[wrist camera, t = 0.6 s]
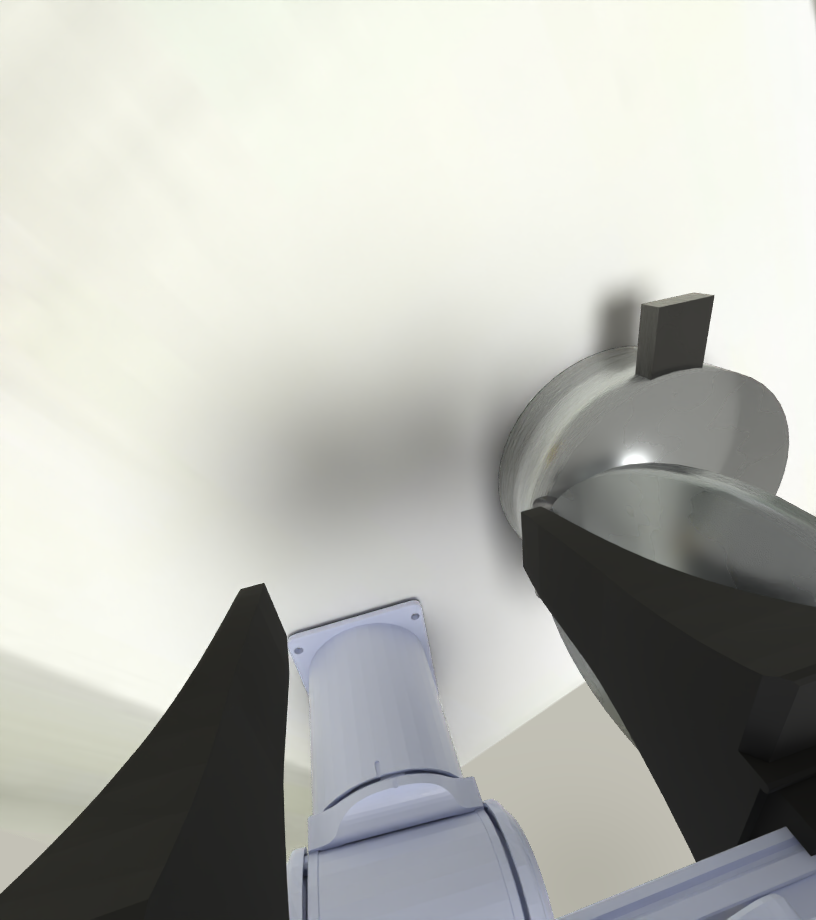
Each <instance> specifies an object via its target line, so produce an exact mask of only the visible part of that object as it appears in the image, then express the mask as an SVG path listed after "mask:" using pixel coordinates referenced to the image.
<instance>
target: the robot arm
mask: <svg viewBox="0 0 816 920" xmlns="http://www.w3.org/2000/svg"><path fill="white" fill-rule="evenodd" d="M521 527H522V547H523V567H524V569H525V571H526V573H527V575H528V577H529V578H530V580H531V582H532V584H533V586H534V588H535V589H536V591H537V593H538V595H539V597H540V598H541V600H542V601H543V603H544V604H545V605H546V607H547V608H548V610H549V611H550V612H551V614H552V615H553V617H554V618H555V619H556V621H557V622H558V624H559V625H560V626H561V628H562V629H563V631H564V632H565V633H566V635H567V636H568V637H569V639H570V640H571V642H572V643H573V644H574V646H575V647H576V648H577V650H578V651H579V653H580V654H581V655H582V657H583V658H584V660H585V661H586V662H587V664H588V665H589V667H590V668H591V670H592V671H593V673H594V674H595V676H596V677H597V679H598V680H599V682H600V684H601V685H602V687H603V689H604V691H605V692H606V694H607V696H608V697H609V699H610V701H611V702H612V704H613V706H614V708H615V709H616V711H617V713H618V714H619V716H620V718H621V720H622V721H623V723H624V725H625V727H626V729H627V730H628V732H629V734H630V736H631V738H632V739H633V741H634V743H635V745H636V746H637V748H638V750H639V752H640V754H641V756H642V757H643V759H644V761H645V763H646V765H647V767H648V768H649V771H650V772H651V774H652V776H653V778H654V780H655V782H656V784H657V785H658V787H659V789H660V791H661V793H662V795H663V797H664V798H665V801H666V802H667V805H668V807H669V808H670V811H671V813H672V815H673V816H674V819H675V821H676V823H677V825H678V827H679V828H680V831H681V832H682V834H683V836H684V838H685V840H686V842H687V844H688V846H689V848H690V850H691V853H692V854H693V857H694V859H695V861H696V863H694V864H691V865H689V866H686V867H684V868H681V869H679V870H676V871H674V872H671V873H669V874H666V875H664V876H661V877H659V878H656V879H654V880H651V881H649V882H646V883H644V884H642V885H639V886H637V887H634V888H632V889H629V890H627V891H624V892H621V893H619V894H616V895H614V896H611V897H609V898H606V899H604V900H601V901H599V902H597V903H594V904H591V905H589V906H587V907H584V908H582V909H579V910H577V911H574V912H572V913H569V914H567V915H564V916H562V917H559V918H557V919H554V916H553V912H552V908H551V904H550V901H549V897H548V894H547V890H546V887H545V884H544V881H543V878H542V875H541V872H540V869H539V866H538V864H537V861H536V858H535V856H534V854H533V851H532V849H531V846H530V844H529V842H528V840H527V838H526V836H525V834H524V832H523V830H522V829H521V827H520V825H519V823H518V822H517V820H516V819H515V818H514V817H513V816H512V815H511V814H510V813H509V812H508V811H507V810H505V809H504V807H503V806H502V805H501V804H500V803H499V802H498V801H496V800H494V799H489V800H485V801H482V799H481V797H480V793H479V790H478V787H477V784H476V781H475V778H474V777H466V778H463V775H462V771H461V768H460V765H459V762H458V758H457V755H456V752H455V749H454V746H453V742H452V739H451V736H450V733H449V729H448V726H447V723H446V720H445V717H444V713H443V710H442V707H441V704H440V700H439V693H438V688H437V683H436V678H435V673H434V668H433V662H432V657H431V652H430V647H429V642H428V637H427V632H426V627H425V622H424V616H423V611H422V607H421V604H420V602H419V601H417V600H412V601H408V602H405V603H401V604H398V605H394V606H391V607H387V608H384V609H380V610H377V611H373V612H370V613H366V614H363V615H359V616H356V617H352V618H349V619H346V620H342V621H339V622H335V623H332V624H328V625H325V626H321V627H318V628H314V629H311V630H307V631H304V632H300V633H297V634H294V635H292V636H290V637H289V638H288V645H287V636H286V633H285V631H284V628H283V626H282V624H281V621H280V619H279V617H278V614H277V612H276V610H275V607H274V605H273V602H272V600H271V598H270V595H269V593H268V591H267V588H266V586H265V584H264V583H262V584H258V585H255V586H251V587H247V588H244V589H241V590H240V591H239V593H238V594H237V596H236V598H235V600H234V602H233V603H232V605H231V607H230V609H229V611H228V613H227V614H226V616H225V618H224V620H223V622H222V623H221V625H220V627H219V629H218V631H217V632H216V634H215V636H214V638H213V639H212V641H211V643H210V644H209V646H208V648H207V649H206V651H205V653H204V654H203V656H202V658H201V660H200V661H199V663H198V664H197V666H196V668H195V669H194V671H193V672H192V674H191V675H190V677H189V678H188V680H187V681H186V683H185V685H184V686H183V688H182V689H181V691H180V692H179V694H178V695H177V697H176V698H175V700H174V701H173V703H172V704H171V705H170V707H169V708H168V710H167V711H166V713H165V714H164V715H163V717H162V718H161V719H160V721H159V722H158V723H157V725H156V726H155V727H154V729H153V730H152V731H151V733H150V734H149V735H148V736H147V738H146V739H145V740H144V742H143V743H142V744H141V745H140V747H139V748H138V749H137V750H136V751H135V753H134V754H133V755H132V756H131V757H130V758H129V760H128V761H127V762H126V763H125V764H124V766H123V767H122V768H121V769H120V770H119V771H118V773H117V774H116V775H115V776H114V777H113V778H112V780H111V781H110V782H109V783H108V784H107V786H106V787H105V788H104V789H103V790H102V791H101V792H100V794H99V795H98V796H97V797H96V798H95V799H94V800H93V801H92V802H91V803H90V804H89V806H88V807H87V808H86V809H85V810H84V811H83V812H82V813H81V814H80V815H79V816H78V817H77V818H76V820H75V821H74V822H73V823H72V824H71V825H70V826H69V827H68V828H67V829H66V830H65V831H64V832H63V833H62V834H61V835H60V836H59V837H58V838H57V839H56V840H55V841H54V842H53V843H52V844H51V845H50V846H49V847H48V848H47V849H46V850H45V851H44V852H43V853H42V854H41V855H40V856H39V857H38V858H37V859H36V860H35V861H34V862H33V863H32V864H31V865H30V866H29V867H28V868H27V869H26V870H25V871H24V872H23V873H22V874H21V875H20V876H19V877H18V878H17V879H16V880H14V881H13V882H12V883H11V884H10V885H9V886H8V887H7V888H6V889H5V890H4V891H3V892H2V893H1V894H0V920H816V607H814V606H808V605H803V604H798V603H793V602H789V601H784V600H780V599H776V598H771V597H767V596H762V595H758V594H755V593H751V592H747V591H743V590H739V589H735V588H732V587H729V586H725V585H722V584H718V583H715V582H712V581H708V580H705V579H702V578H699V577H696V576H693V575H690V574H687V573H684V572H681V571H679V570H676V569H673V568H670V567H668V566H665V565H662V564H660V563H657V562H655V561H652V560H650V559H647V558H645V557H642V556H640V555H638V554H636V553H633V552H631V551H629V550H627V549H624V548H622V547H620V546H618V545H616V544H614V543H611V542H609V541H607V540H605V539H603V538H601V537H599V536H597V535H595V534H593V533H591V532H589V531H587V530H586V529H584V528H582V527H580V526H578V525H576V524H574V523H572V522H570V521H568V520H567V519H565V518H563V517H561V516H559V515H557V514H555V513H553V512H551V511H550V510H548V509H546V508H544V507H541V506H540V507H536V508H532V509H529V510H525V511H522V512H521ZM415 613H417V614H415ZM413 614H415V615H413ZM297 648H299V649H297ZM288 649H289V651H290V653H291V656H292V658H293V660H294V663H295V665H296V668H297V670H298V672H299V675H300V677H301V679H302V682H303V684H304V687H305V689H306V691H307V694H308V696H309V708H310V743H311V778H312V812H313V815H311V816H309V818H308V853H309V855H308V853H307V849H306V847H302V848H299V849H295V850H293V851H292V852H291V854H290V857H289V861H287V863H286V847H285V822H284V790H283V779H284V753H285V737H286V721H287V706H288V688H289V660H288Z"/></svg>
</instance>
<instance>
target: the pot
mask: <svg viewBox="0 0 816 920" xmlns="http://www.w3.org/2000/svg"><path fill="white" fill-rule="evenodd" d="M713 301H714V295H708V294H701V293H690V294H686V295H681V296H676V297H672V298H667V299H662V300H658V301H653V302H649V303H644V304H642V305H641V316H640V327H639V338H638V346H626V347H620V348H614V349H610V350H607V351H603V352H600V353H597V354H595V355H592V356H590V357H588V358H585V359H583V360H581V361H579V362H578V363H576V364H574V365H573V366H571V367H569V368H568V369H566V370H565V371H563V372H562V373H561V374H559V375H558V376H557V377H555V378H554V379H553V380H552V381H551V382H549V383H548V384H547V385H546V386H545V387H544V388H543V389H542V390H541V391H540V392H539V393H538V394H537V395H536V396H535V398H534V399H533V400H532V401H531V402H530V403H529V404H528V406H527V407H526V409H525V410H524V412H523V413H522V414H521V416H520V417H519V419H518V421H517V422H516V424H515V426H514V428H513V430H512V431H511V433H510V436H509V438H508V441H507V443H506V446H505V448H504V452H503V455H502V459H501V463H500V470H499V495H500V502H501V505H502V508H503V511H504V514H505V516H506V518H507V520H508V522H509V523H510V525H511V526H512V528H513V529H514V530H515V532H516V533H517V534H518V536H519V537H520V538H521V540H522V527H521V512H522V511H525V510H529V509H532V508H533V502H534V500H535V499H537V498H539V497H542V496H552V497H556V498H559V497H560V496H561V495H562V494H563V493H564V492H565V491H567V490H568V489H570V488H571V487H573V486H574V485H576V484H578V483H580V482H582V481H584V480H586V479H588V478H590V477H592V476H594V475H596V474H599V473H601V472H603V471H606V470H608V469H610V468H614V467H618V466H623V465H627V464H636V463H651V462H653V463H666V464H679V465H684V466H689V467H694V468H699V469H704V470H709V471H712V472H715V473H718V474H721V475H724V476H727V477H731V478H734V479H737V480H740V481H743V482H745V483H747V484H750V485H752V486H754V487H757V488H759V489H761V490H764V491H766V492H768V493H771V494H773V495H776V493H777V491H778V488H779V486H780V483H781V480H782V477H783V474H784V471H785V467H786V463H787V458H788V449H789V432H788V425H787V421H786V416H785V414H784V411H783V409H782V407H781V404H780V403H779V401H778V400H777V398H776V397H775V396H774V394H773V393H772V392H771V391H770V390H769V389H768V388H767V387H765V386H764V385H763V384H762V383H760V382H758V381H756V380H755V379H753V378H751V377H748V376H745V375H742V374H739V373H736V372H733V371H730V370H726V369H723V368H720V367H717V366H713V365H710V364H707V363H704V362H703V361H704V355H705V349H706V343H707V337H708V331H709V325H710V319H711V313H712V307H713Z"/></svg>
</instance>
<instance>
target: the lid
mask: <svg viewBox="0 0 816 920" xmlns="http://www.w3.org/2000/svg"><path fill="white" fill-rule="evenodd" d="M540 506H541V507H544V508H546V509H548V510H550V511H551V512H553V513H555V514H557V515H559V516H561V517H563V518H565V519H567V520H568V521H570V522H572V523H574V524H576V525H578V526H580V527H582V528H584V529H586V530H587V531H589V532H591V533H593V534H595V535H597V536H599V537H601V538H603V539H605V540H607V541H609V542H611V543H614V544H616V545H618V546H620V547H622V548H624V549H627V550H629V551H631V552H633V553H636V554H638V555H640V556H642V557H645V558H647V559H650V560H652V561H655V562H657V563H660V564H662V565H665V566H668V567H670V568H673V569H676V570H679V571H681V572H684V573H687V574H690V575H693V576H696V577H699V578H702V579H705V580H708V581H712V582H715V583H718V584H722V585H725V586H729V587H732V588H735V589H739V590H743V591H747V592H751V593H755V594H758V595H762V596H767V597H771V598H776V599H780V600H784V601H789V602H793V603H798V604H803V605H808V606H814V607H816V517H815V516H813V515H811V514H809V513H807V512H805V511H804V510H802V509H800V508H798V507H796V506H794V505H793V504H791V503H789V502H787V501H785V500H783V499H782V498H780V497H778V496H775V495H773V494H771V493H768V492H766V491H764V490H761V489H759V488H757V487H754V486H752V485H750V484H747V483H745V482H743V481H740V480H737V479H734V478H731V477H727V476H724V475H721V474H718V473H715V472H712V471H709V470H704V469H699V468H694V467H689V466H684V465H679V464H666V463H653V462H651V463H636V464H627V465H623V466H618V467H614V468H610V469H608V470H606V471H603V472H601V473H599V474H596V475H594V476H592V477H590V478H588V479H586V480H584V481H582V482H580V483H578V484H576V485H574V486H573V487H571V488H570V489H568V490H567V491H565V492H564V493H563V494H562V495H561V496H560V497H559V498H556V497H552V496H542V497H539V498H537V499H535V500H534V502H533V508H536V507H540ZM535 593H536V595H537V596H538V597H539V595H538V593H537V591H536V589H535ZM539 598H540V597H539ZM540 599H541V598H540ZM552 616H553V615H552ZM553 619H554V622H555V624H556V626H557V629H558V631H559V633H560V636H561V638H562V640H563V642H564V644H565V646H566V648H567V650H568V652H569V654H570V656H571V657H572V659H573V661H574V663H575V664H576V666H577V668H578V670H579V671H580V673H581V675H582V676H583V678H584V679H585V681H586V683H587V684H588V686H589V687H590V689H591V690H592V692H593V693H594V695H595V696H596V697H597V699H598V700H599V702H600V703H601V704H602V706H603V707H604V709H605V710H606V712H607V713H608V714H609V715H610V717H611V718H612V719H613V720H614V722H615V723H616V724H617V725H618V727H619V728H620V729H621V731H622V732H623V733H624V734H625V735H626V736H627V738H628V739H629V740H630V741H631V742H632V743H633V745H634V746H635V747H636V748H637V746H636V745H635V743H634V741H633V739H632V738H631V736H630V734H629V732H628V730H627V729H626V727H625V725H624V723H623V721H622V720H621V718H620V716H619V714H618V713H617V711H616V709H615V708H614V706H613V704H612V702H611V701H610V699H609V697H608V696H607V694H606V692H605V691H604V689H603V687H602V685H601V684H600V682H599V680H598V679H597V677H596V676H595V674H594V673H593V671H592V670H591V668H590V667H589V665H588V664H587V662H586V661H585V660H584V658H583V657H582V655H581V654H580V653H579V651H578V650H577V648H576V647H575V646H574V644H573V643H572V642H571V640H570V639H569V637H568V636H567V635H566V633H565V632H564V631H563V629H562V628H561V626H560V625H559V624H558V622H557V621H556V619H555V618H554V617H553ZM637 749H638V748H637Z"/></svg>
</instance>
